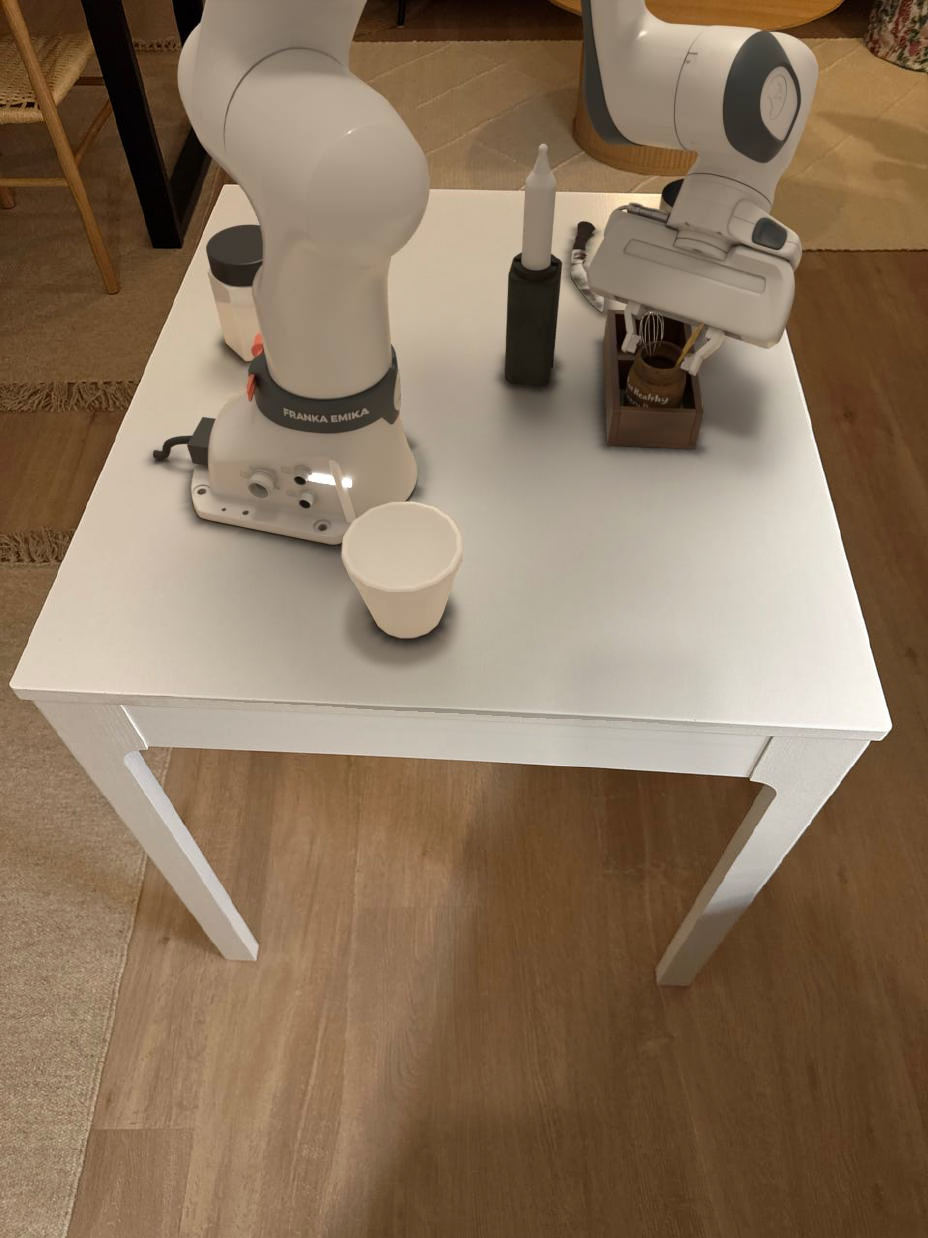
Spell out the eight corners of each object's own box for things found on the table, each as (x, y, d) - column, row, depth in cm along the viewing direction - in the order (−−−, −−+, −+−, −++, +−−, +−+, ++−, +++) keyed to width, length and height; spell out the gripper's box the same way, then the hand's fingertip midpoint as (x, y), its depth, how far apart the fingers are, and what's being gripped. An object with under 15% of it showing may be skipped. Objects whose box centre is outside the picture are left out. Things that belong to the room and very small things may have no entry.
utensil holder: (641, 384, 98) (660, 286, 88) (691, 409, 96) (716, 310, 86) (611, 412, 95) (627, 314, 86) (661, 438, 93) (684, 340, 83)
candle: (547, 388, 99) (567, 160, 79) (502, 383, 100) (510, 154, 80) (554, 360, 102) (575, 133, 82) (510, 355, 103) (520, 128, 83)
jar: (315, 344, 104) (299, 247, 95) (254, 372, 101) (232, 275, 92) (274, 309, 108) (255, 213, 99) (214, 335, 105) (189, 239, 96)
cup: (367, 564, 84) (357, 493, 76) (472, 577, 83) (472, 507, 75) (340, 650, 78) (326, 582, 70) (453, 666, 77) (451, 598, 69)
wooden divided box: (607, 445, 94) (612, 410, 90) (602, 343, 104) (607, 308, 100) (695, 449, 93) (704, 414, 90) (681, 346, 104) (689, 311, 100)
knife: (624, 304, 107) (583, 309, 107) (623, 314, 108) (582, 319, 108) (594, 218, 118) (556, 223, 118) (593, 228, 119) (556, 233, 119)
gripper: (610, 185, 87) (557, 324, 90) (816, 242, 81) (752, 389, 84) (623, 208, 93) (572, 338, 96) (816, 263, 87) (756, 400, 90)
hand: (658, 363), depth 90 cm, fingers closed on utensil holder, 5 cm apart
